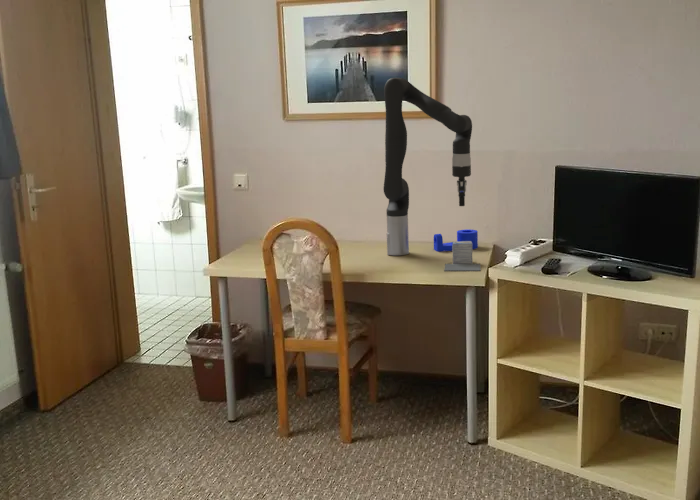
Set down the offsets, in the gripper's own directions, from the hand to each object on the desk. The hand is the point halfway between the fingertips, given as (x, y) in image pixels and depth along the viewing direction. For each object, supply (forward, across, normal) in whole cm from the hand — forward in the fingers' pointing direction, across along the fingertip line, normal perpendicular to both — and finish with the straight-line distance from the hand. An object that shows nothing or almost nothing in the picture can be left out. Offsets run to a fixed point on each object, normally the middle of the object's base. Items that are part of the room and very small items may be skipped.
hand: (461, 204), depth 296 cm
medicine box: (+23, +9, 0) cm, 25 cm away
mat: (+23, +18, 0) cm, 29 cm away
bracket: (+23, -19, -3) cm, 30 cm away
